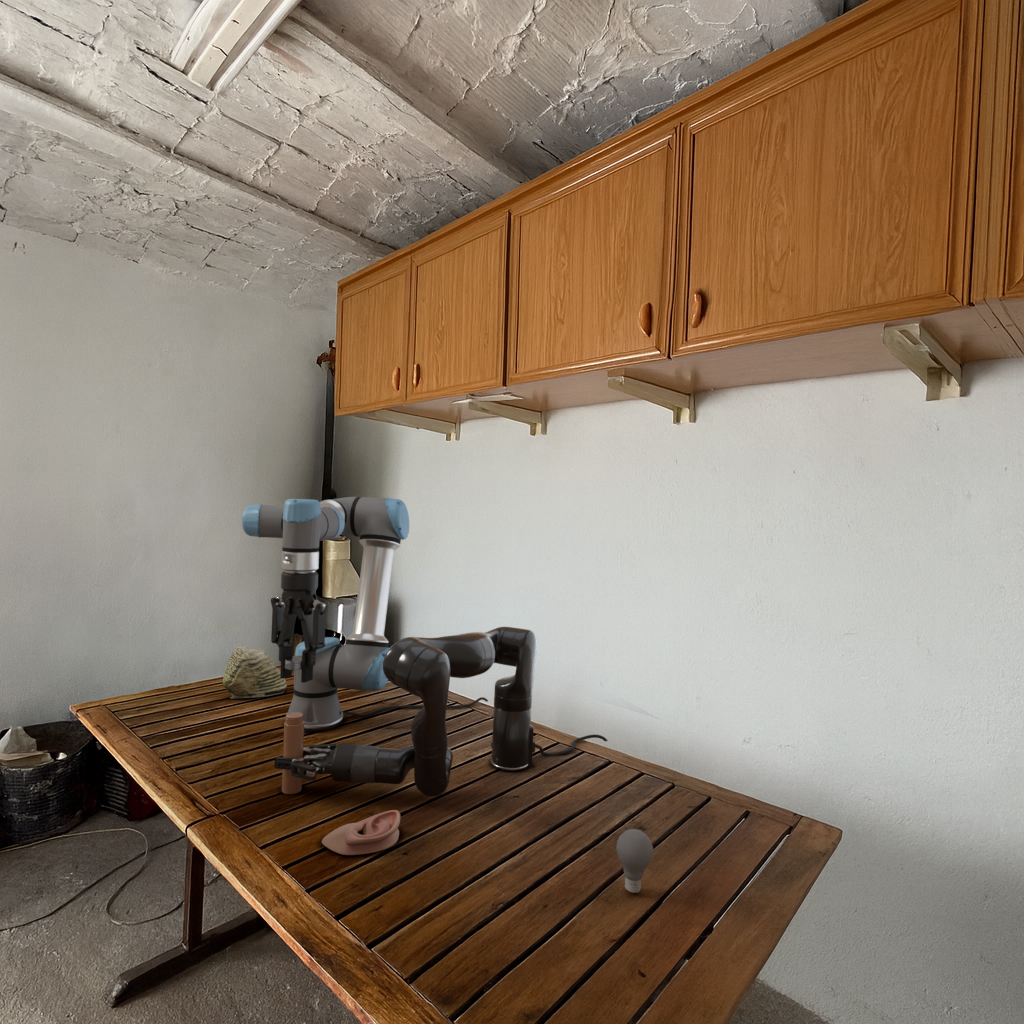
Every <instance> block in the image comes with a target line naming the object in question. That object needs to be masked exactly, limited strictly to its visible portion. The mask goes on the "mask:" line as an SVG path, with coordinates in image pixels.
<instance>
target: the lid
mask: <svg viewBox="0 0 1024 1024" xmlns="http://www.w3.org/2000/svg"><path fill="white" fill-rule="evenodd" d="M285 669H288V670H292V671H294V670H302V656H295V655H293V656H290V657H287V658H285Z"/></svg>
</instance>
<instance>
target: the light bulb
mask: <svg viewBox="0 0 1024 1024" xmlns="http://www.w3.org/2000/svg"><path fill="white" fill-rule="evenodd" d="M615 849H616V854H617V857H618V859H619V861H620V863H621V865H622V867H623V873H624V874H623V875H624V876H625V878H624V888H625V890H627V891H628V892H630V893H634V894H635V893H639V892H640V891H641V889H642V887H641V886H642V879H643V877H644V875H645V871H646V868H647V867H648V866H649V864H650V863H651V861H652V859H653V855H654V847H653V843H652V841H651V838H649V836H648V835H647V834H646V833H645V832H643V831H642V830H641V829H636V828H629V829H627V830H625V831H623V832H622V833H621V834H620V835H619V837H618V839H617V841H616V847H615Z"/></svg>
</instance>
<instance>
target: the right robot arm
mask: <svg viewBox="0 0 1024 1024" xmlns="http://www.w3.org/2000/svg"><path fill="white" fill-rule="evenodd" d="M389 648H390V649H389V650H388V651H387V653H386V655H385V657H384V660H383V672H384V674H385V676H386V678H387V679H388V682H390V683H391V684H393V685H394V686H395V687H398V688H400V689H402V690H404V691H405V692H408V693H409V694H411V695H413V696H415V697H418V698H419V699H421V702H422V703H423V705H424V707H423V708H420V710H419V711H418V712H417V713H416V714H415V716H414V717H413V719H412V722H411V728H410V734H411V735H410V736H411V741H412V746H407V747H403V748H402V747H401V748H391V747H389V748H388V747H379V746H374V745H367V744H354V743H353V744H350V743H339V744H338V745H337V743H326V744H325V743H322V744H309V745H308V747H303V758H294V759H293V758H284V757H283V756H277V757H276V758H275V759H274V768H275V769H276V770H282V769H288V770H291V776H295V777H299V778H302V780H303V779H304V780H308V781H316V779H317V775H326V774H329V775H331V779H332V781H334V782H342V783H352V784H353V783H355V784H385V785H387V784H388V785H400V784H402V783H403V782H405V780H406V778H407V776H408V774H409V773H410V771H411V770H412V769H413V776H414V777H413V780H414V785H415V787H416V789H417V790H418V791H419V792H420V794H422V795H424V796H426V797H431V798H435V797H438V796H440V795H442V794H443V793H445V791H447V788H448V786H449V783H450V778H451V777H450V776H451V772H452V771H451V770H452V765H453V759H454V754H453V752H452V750H451V748H450V747H449V740H448V731H447V722H446V718H447V709H448V708H447V706H448V701H449V691H450V683H451V678H455V679H467V678H472V677H473V678H474V677H476V676H480V675H482V674H485V673H486V672H488V671H489V670H490V669H491V668H492V667H493V665H494V664H496V665H503V666H508V667H514V668H515V673H514V674H513V675H510V676H504V677H501V678H499V679H497V680H496V681H495V682H494V691H493V692H494V694H493V713H492V714H493V715H492V717H493V719H492V740H491V742H490V745H491V746H490V749H491V758H490V764H491V765H492V767H494V768H496V769H498V770H501V771H505V772H506V771H507V772H518V771H522V770H526V769H527V768H528V767H533V755H534V754H536V749H538V750H539V752H540V755H542V756H545V757H549V756H552V757H553V756H562V755H566V754H569V753H571V752H573V751H574V750H575V748H576V744H577V743H578V742H581V741H585V740H587V739H594V738H596V739H599V740H603V741H604V742H608V741H609V740H608V738H606V737H605V736H603V735H601V734H588V735H583V736H581V737H577V738H575V739H574V740H573V741H572V744H571V747H570V748H568V749H564V750H561V751H556V752H545V751H544V749H543V747H542V745H540V744H538V743H536V742H535V741H534V733H535V731H534V729H535V728H534V726H533V725H532V705H533V704H532V703H533V688H534V684H535V683H534V682H535V671H536V661H537V650H538V641H537V636H536V633H535V632H534V631H533V630H531V629H528V628H526V629H525V628H520V627H513V626H499V627H496V628H492V629H491V630H488V631H485V632H483V631H476V632H475V631H474V632H466V633H458V634H452V635H445V636H444V635H443V636H439V637H422V636H421V637H419V636H407V637H404V638H401V639H399V640H397V641H396V642H394V644H392V645H391V646H390V647H389ZM301 762H302V763H303V764H302V763H301ZM308 763H309V764H308Z"/></svg>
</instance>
